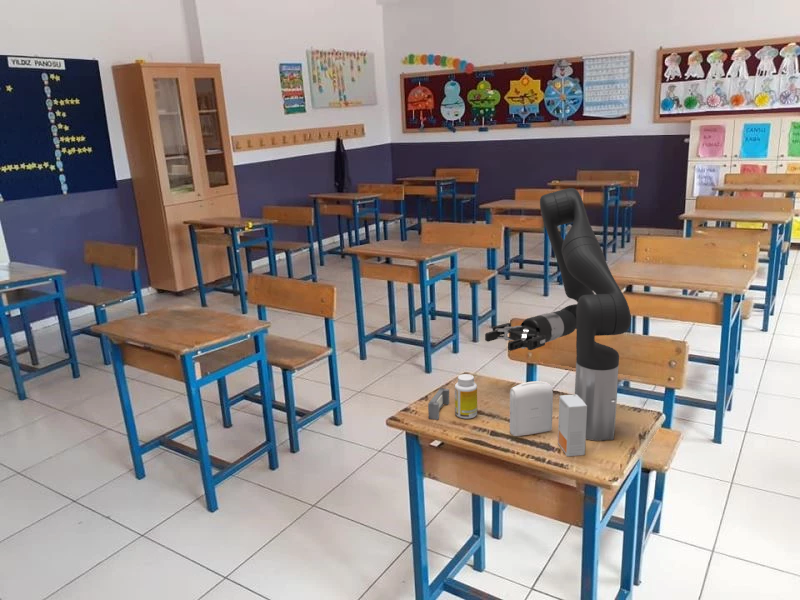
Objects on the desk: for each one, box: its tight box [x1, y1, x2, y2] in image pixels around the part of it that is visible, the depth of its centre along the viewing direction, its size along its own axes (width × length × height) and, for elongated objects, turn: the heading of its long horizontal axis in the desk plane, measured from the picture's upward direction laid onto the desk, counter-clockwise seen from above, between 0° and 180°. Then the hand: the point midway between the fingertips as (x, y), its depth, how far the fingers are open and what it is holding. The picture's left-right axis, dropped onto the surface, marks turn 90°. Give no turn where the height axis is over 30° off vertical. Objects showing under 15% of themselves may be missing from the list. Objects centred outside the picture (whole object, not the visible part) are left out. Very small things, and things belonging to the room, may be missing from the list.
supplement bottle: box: [454, 373, 478, 420], centre depth 156 cm, size 6×6×10 cm
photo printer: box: [509, 380, 554, 437], centre depth 147 cm, size 10×4×12 cm, turn 103°
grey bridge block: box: [427, 387, 450, 421], centre depth 160 cm, size 2×10×4 cm, turn 159°
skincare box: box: [557, 393, 587, 457], centre depth 138 cm, size 6×4×12 cm
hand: (497, 342), depth 159 cm, fingers open, 8 cm apart
